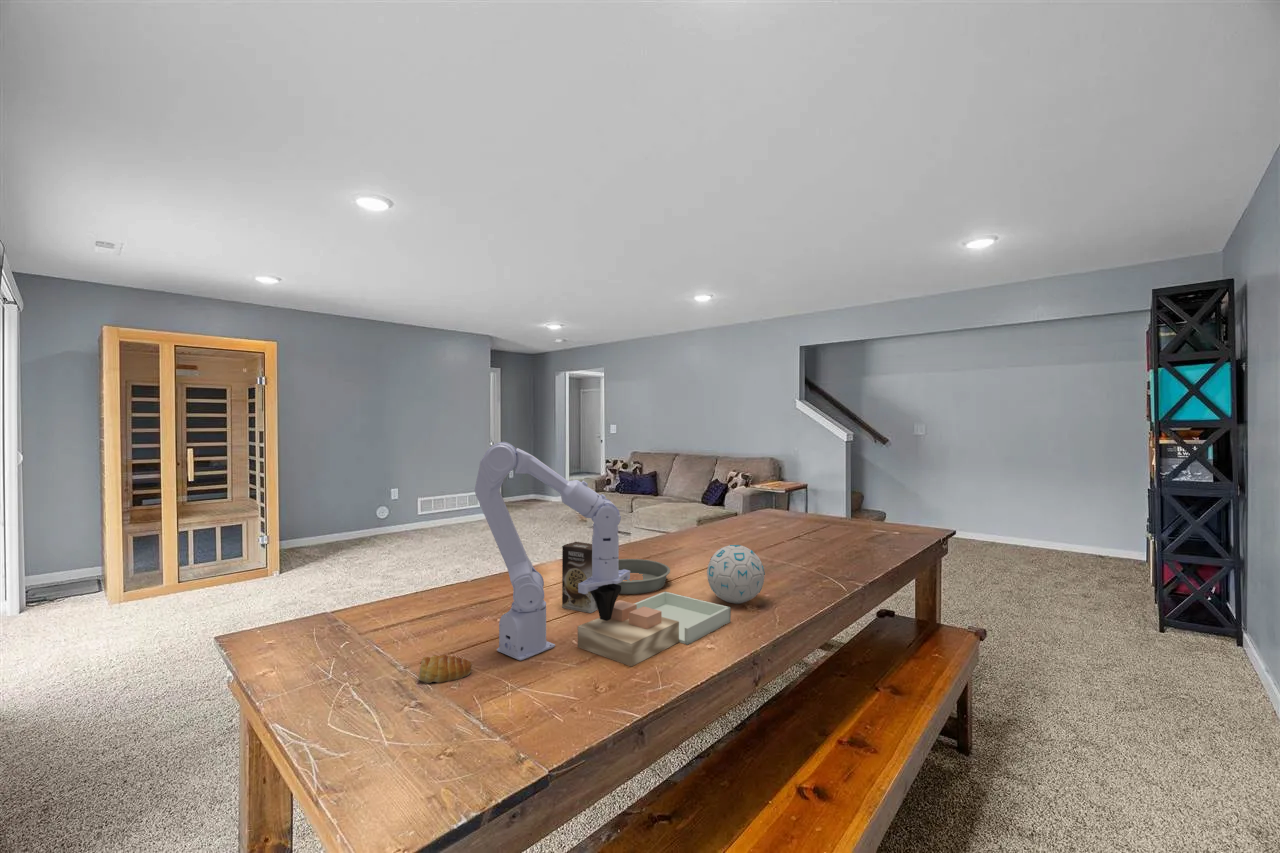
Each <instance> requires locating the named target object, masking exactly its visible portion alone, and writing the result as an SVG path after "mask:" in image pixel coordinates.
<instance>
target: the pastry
mask: <svg viewBox="0 0 1280 853" xmlns="http://www.w3.org/2000/svg"><path fill="white" fill-rule="evenodd" d="M420 662H421V664H420V668H419V669H420V670H419V675H418V680H419V681H421V682H423V683H425V684H431V683H432V682H435V683H439V684H440V683H444V682H450V681H456V680H460V679H463V678H464V677H467V676H469V675H470V674H471V673H472V666H473V665H472V664H473V663H472V661H469V660H468V659H465V658H462V657H458V656H454V655H452V656H451V655H447V654H442V655H436V654H434V655H432V656H430V657H429V656H424V657H422V659H421V661H420Z"/></svg>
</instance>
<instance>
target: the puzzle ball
mask: <svg viewBox="0 0 1280 853" xmlns="http://www.w3.org/2000/svg"><path fill="white" fill-rule="evenodd" d="M706 575H707V577H706V578H707V582H708V585H709V587H710V589H711V591H712V592H713V593H714V594H715V596H716V597H718V598H719V599H721V600H723V601H724V602H726V603H730V604H736V605H740V604H743V603H747V602H749V601H752V599H755V597H757V595H758V594H759V593H761V590H762V588H763V585H764V582H765V575H766V573H765V568H764V565H763V562H762V561H761V559H760V557H759V556H758V555H757V554H756V553H755V552H754V551H753V550H752V549H750V548H748V547H746V546H744V545H741V544H729V545H725V546H724V547H721V548H720V549H718V550H716V552H714V554H713V555H712V556H711V557H710V560H709V562H708V564H707V569H706Z"/></svg>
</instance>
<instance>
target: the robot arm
mask: <svg viewBox="0 0 1280 853" xmlns="http://www.w3.org/2000/svg"><path fill="white" fill-rule="evenodd" d="M513 469H515V472H514V474H518V475H519V474H521V475H522V474H523V475H524V474H525V475H530V476H531V477H533V478H535V479H537V480H538V481H540V482H541V483H543V484H545V485H546V486H548V488H551V489H552V490H554V491H556V492H557V493H560V498H561V502H562V503H563V504H564V505H566V506H568V507H569V508H570V509H572V510H574V511H575V512H577V513H578V514H580V515H581V516H582V517H584V518H586V519H591V521H592V522H593V524H592V535H591V544H592V576H591V577H590V578H588V579H586V580H585V581H583V582H581V583H578V593H582V594H587V593H588V592H589V591H590V593H591V594H592V596H593V598H594V600H595V602H596V605H597V608H598V610H597V611H598V615H599V618H600V619H602V620H605V621H608V620H610V619H611V616H612V612H613V608H614V605H615V602H616V601H617V599H618V597H619V595H620V594H619V593H620V591H621V586H620V585H617V584H618V583H621V581H622V580H629V579H630V571H629V570H625V569H623V570H619V565H618V561H619V559H620V558H619V555H620V554H619V543H620V542H619V525H620V522H621V520H622V516H621V514H620V510H619V508H618V507H617V506H616V505H615V503H613V502H612V501H611V500H610V499H609V498H607V496H606V495H605V494H603V493H601V494H599V493H598V492H597V491H595V490H594V489H592V488H590V487H589V484H588V482H586V481H585V480H582V481H581V480H578V479H573V480H567V479H566V478H565V477H563V476H562V475H561V474H559V473H558V472H556V471H555V470H554V469H552V468H551V467H549V466H548V465H547V464H545V463H544V462H542V461H541V460H540V459H538V458H537V457H536V456H534V455H532V454H530V453H529V452H527V451H525V450H523V449H520V448H518V447H515V446H514V445H512V444H511V443H509V442H507V441H499V442H495V443H494V444H493V445H491V446H490V447H489V448H487V450H486V451H485V453H484V455H483V457H482V458H481V459H480V461H479V466H478V472H477V477H476V482H475V486H474V493H475V496H476V499H477V501H478V503H479V506H480V508H481V510H482V512H483V515H484V517H485V519H486V522H487V525H488V527H489V530H490V531H491V534H492V536H493V538H494V541H495V542H496V543H495V544H496V545H497V548H498V550H499V552H500V556H501V557H502V560H503V562H504V564H505V566H506V568H507V573H508V576H509V580H510V584H511V586H512V588H513V591H512V600H513V601H512V602H511V607H510V609H509V610H508V611H507V612H505V613H503V614H502V615H501V616H500V619H499V622H498V629H499V630H498V634H499V635H498V646H499V647H498V648H496V651H497V652H499V653H500V654H501V653H502V654H503V655H506V656H508V657H510V658H512V659H516V660H518V661H523V660H527V659H529V658H531V657H533V656H536V655H538V654H541V653H543V652H545V651H547V650H550V649H553V648H554V647H555V646H556V644H555V643H552V642H550V641H548V640H547V602H546V601H545V590H544V586H545V581H544V578H543V576H542V574H541V573H540V572H538V571H537V570H536V569H535V567H534V566H533V564H532V563H533V562H532V561H531V560H530V559H529V556H528V554H527V552H526V550H525V547H524V545H523V542H522V540H521V537H520V536H519V533H518V531H517V529H516V526H515V524H514V521H513V520H512V516H511V514H510V512H509V509H508V507H507V505H506V502H505V500H504V498H503V496H502V493H501V490H500V489H501V487H502V485H503V483H504V481H505V479H506V477H507V476H508V475H509V474H510V472H511V471H512V470H513Z"/></svg>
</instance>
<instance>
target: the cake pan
mask: <svg viewBox="0 0 1280 853" xmlns="http://www.w3.org/2000/svg"><path fill="white" fill-rule="evenodd" d="M618 565H619V570H623V569H625V570H629V571H630V573H639V574H643V575H642V576H643V580H632V581H630V580H627V581H623V580H622V581H621V583H618V584H617V585H620V586H621V591H620V593H619V595H636V594H639V595H641V594H647V593H650V592H651V593H652V592H655V590H656V591H658V590H660V589H662V588H663V587H665V584H666V581H667V580H666V579H667V576H668V575H669V574H670V573H671V568H670V567H669V566H668V565H666V564H665V563H662V562H658V561H656V560H655V561H654V560H651V559H642V558H641V559H640V558H619V561H618Z"/></svg>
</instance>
